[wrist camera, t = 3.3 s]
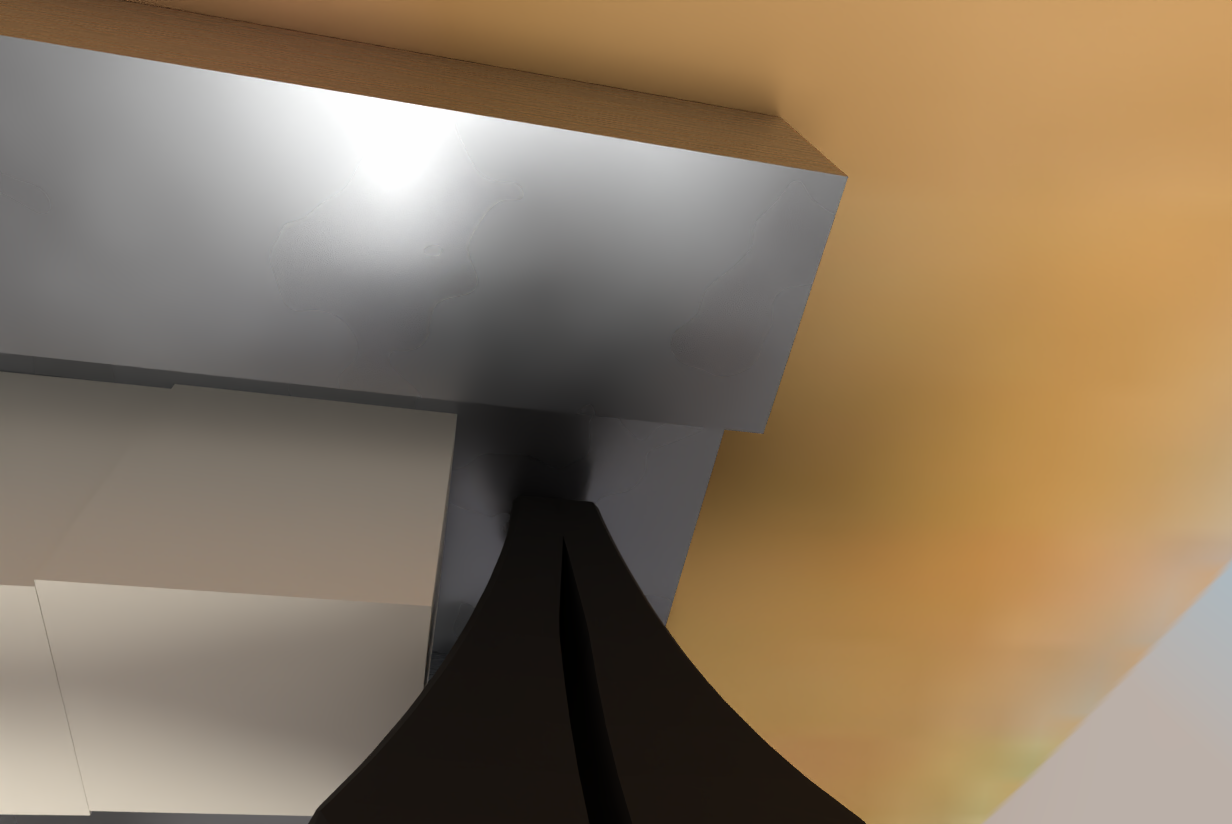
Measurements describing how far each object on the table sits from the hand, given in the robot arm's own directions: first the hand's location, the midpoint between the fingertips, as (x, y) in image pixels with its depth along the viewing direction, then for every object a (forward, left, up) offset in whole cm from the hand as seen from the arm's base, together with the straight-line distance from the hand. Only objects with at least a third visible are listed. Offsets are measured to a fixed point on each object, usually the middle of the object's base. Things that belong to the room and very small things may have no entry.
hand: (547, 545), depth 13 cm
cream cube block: (0, +4, 0) cm, 4 cm away
